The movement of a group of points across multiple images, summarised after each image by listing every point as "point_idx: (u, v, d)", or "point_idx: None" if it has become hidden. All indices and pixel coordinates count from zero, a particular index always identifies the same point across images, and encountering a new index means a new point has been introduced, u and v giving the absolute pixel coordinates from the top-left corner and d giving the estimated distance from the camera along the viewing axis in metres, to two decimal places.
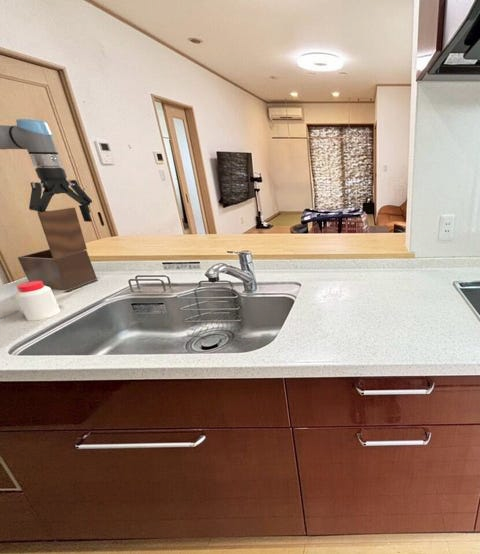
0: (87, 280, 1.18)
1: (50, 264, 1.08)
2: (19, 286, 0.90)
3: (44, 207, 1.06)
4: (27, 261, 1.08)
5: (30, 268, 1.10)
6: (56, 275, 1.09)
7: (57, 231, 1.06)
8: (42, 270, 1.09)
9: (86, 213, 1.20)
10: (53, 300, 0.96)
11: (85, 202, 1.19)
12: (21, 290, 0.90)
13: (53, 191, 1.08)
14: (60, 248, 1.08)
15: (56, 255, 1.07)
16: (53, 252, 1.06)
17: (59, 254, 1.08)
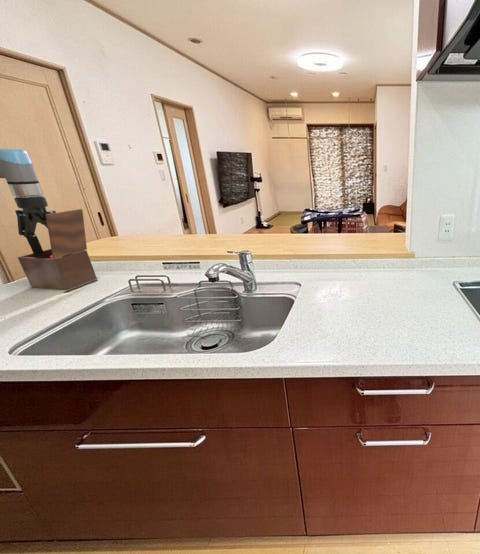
0: (87, 280, 1.18)
1: (50, 264, 1.08)
2: (52, 256, 1.12)
3: None
4: (27, 261, 1.08)
5: (30, 268, 1.10)
6: (56, 275, 1.09)
7: (62, 232, 1.06)
8: (42, 270, 1.09)
9: (38, 244, 1.13)
10: None
11: None
12: None
13: None
14: (61, 249, 1.08)
15: (57, 255, 1.07)
16: (54, 252, 1.06)
17: (59, 254, 1.08)
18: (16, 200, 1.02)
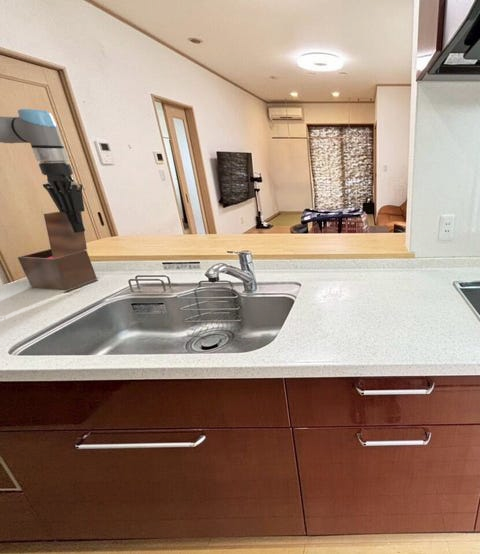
0: (87, 280, 1.18)
1: (50, 264, 1.08)
2: None
3: None
4: (27, 261, 1.08)
5: (30, 268, 1.10)
6: (56, 275, 1.09)
7: (61, 232, 1.06)
8: (42, 270, 1.09)
9: None
10: None
11: None
12: None
13: None
14: (61, 248, 1.08)
15: (57, 255, 1.07)
16: (54, 252, 1.06)
17: (59, 254, 1.08)
18: (41, 166, 0.96)
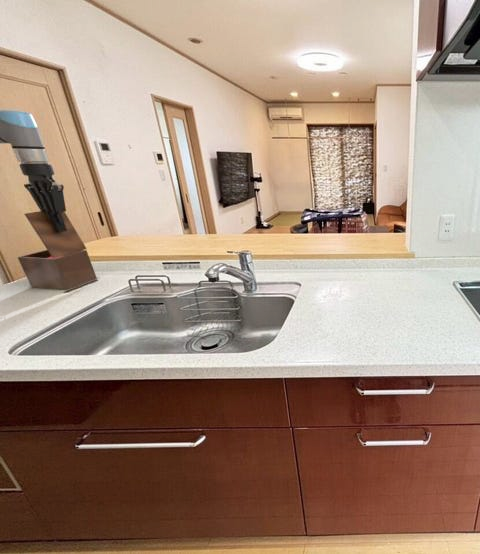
0: (87, 280, 1.18)
1: (50, 264, 1.08)
2: None
3: None
4: (27, 261, 1.08)
5: (30, 268, 1.10)
6: (56, 275, 1.09)
7: (50, 231, 1.07)
8: (42, 270, 1.09)
9: None
10: None
11: None
12: None
13: None
14: (58, 248, 1.08)
15: (55, 254, 1.07)
16: (51, 252, 1.06)
17: (58, 253, 1.08)
18: (21, 166, 0.97)
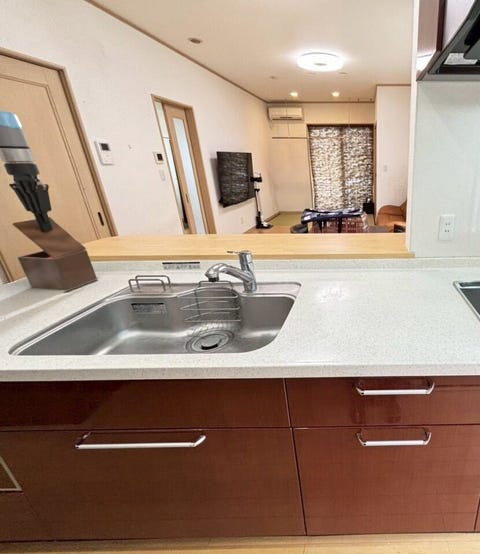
0: (87, 280, 1.18)
1: (50, 264, 1.08)
2: None
3: None
4: (27, 261, 1.08)
5: (30, 268, 1.10)
6: (56, 275, 1.09)
7: (43, 236, 1.08)
8: (42, 270, 1.09)
9: None
10: None
11: None
12: None
13: None
14: (55, 249, 1.08)
15: (54, 254, 1.07)
16: (49, 252, 1.06)
17: (56, 253, 1.08)
18: (6, 166, 0.97)
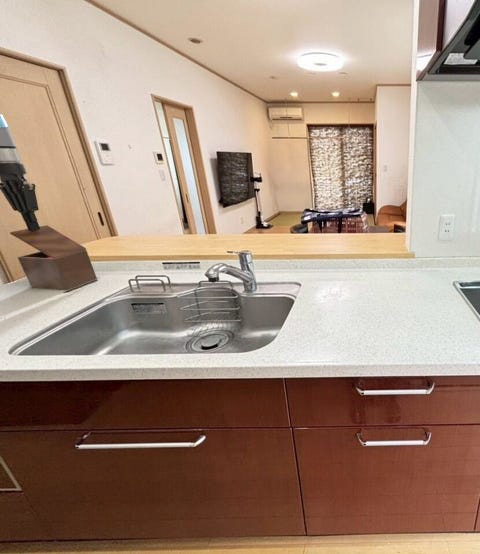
0: (87, 280, 1.18)
1: (50, 264, 1.08)
2: None
3: None
4: (27, 261, 1.08)
5: (30, 268, 1.10)
6: (56, 275, 1.09)
7: (41, 240, 1.09)
8: (42, 270, 1.09)
9: None
10: None
11: None
12: None
13: None
14: (54, 250, 1.08)
15: (54, 255, 1.07)
16: (48, 253, 1.06)
17: (56, 254, 1.08)
18: None
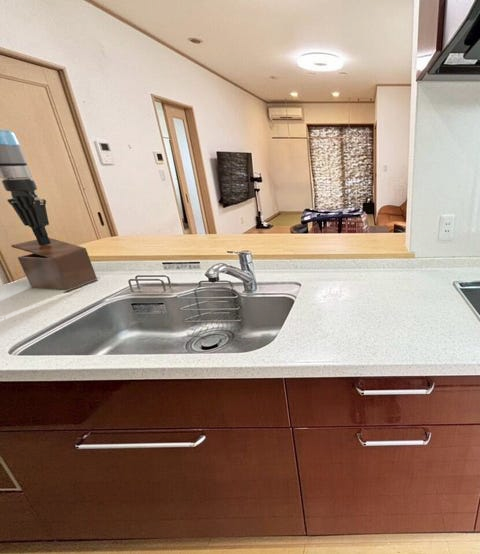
0: (87, 280, 1.18)
1: (50, 264, 1.08)
2: None
3: None
4: (27, 261, 1.08)
5: (30, 268, 1.10)
6: (56, 275, 1.09)
7: (41, 247, 1.10)
8: (42, 270, 1.09)
9: None
10: None
11: None
12: None
13: None
14: (54, 252, 1.09)
15: (53, 255, 1.07)
16: (48, 255, 1.07)
17: (56, 254, 1.08)
18: (4, 182, 1.00)
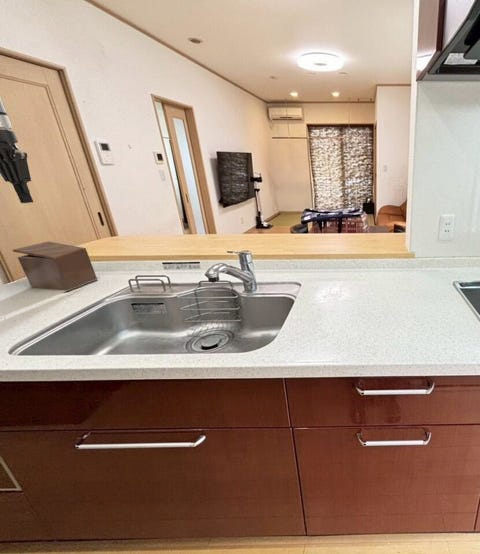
0: (87, 280, 1.18)
1: (50, 264, 1.08)
2: None
3: None
4: (27, 261, 1.08)
5: (30, 268, 1.10)
6: (56, 275, 1.09)
7: (42, 250, 1.10)
8: (42, 270, 1.09)
9: None
10: None
11: None
12: None
13: None
14: (54, 253, 1.09)
15: (53, 255, 1.07)
16: (48, 256, 1.07)
17: (56, 255, 1.08)
18: None
